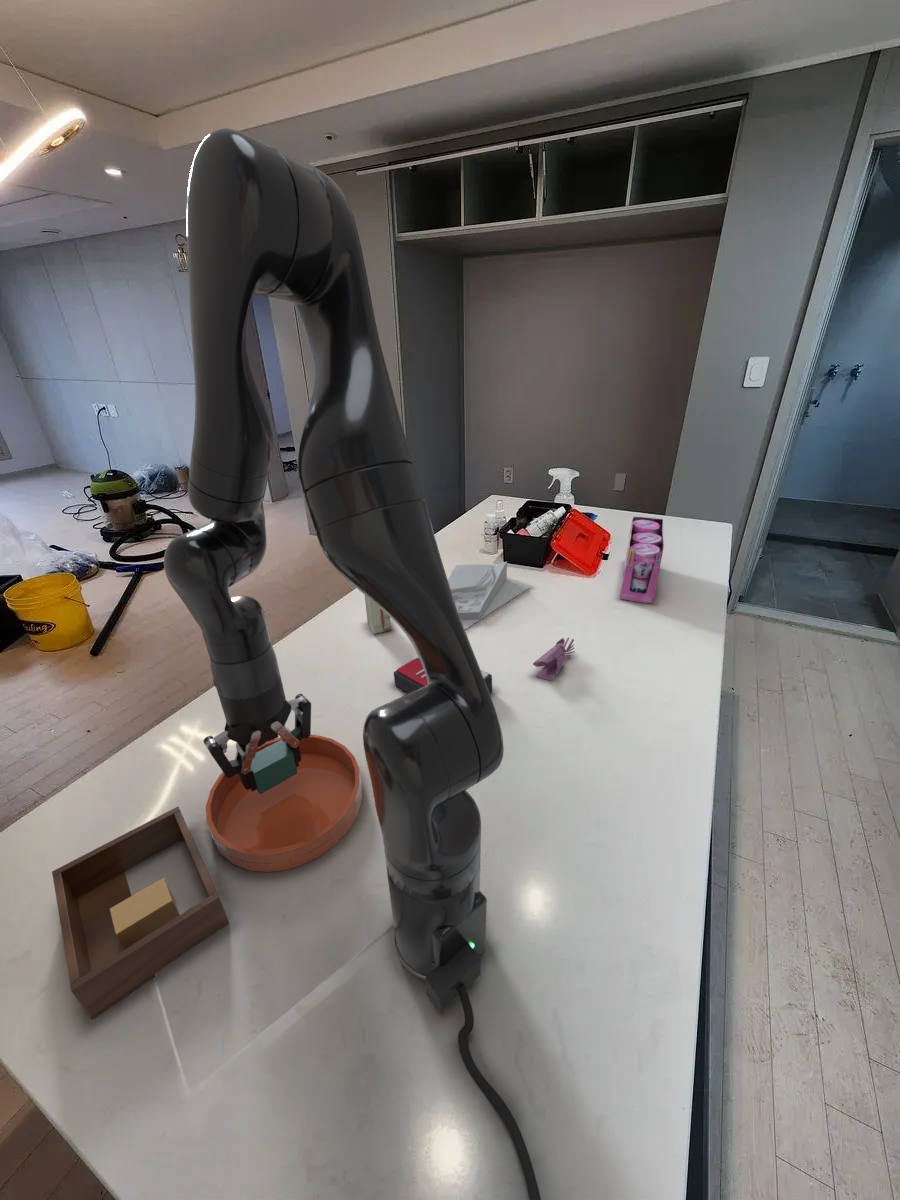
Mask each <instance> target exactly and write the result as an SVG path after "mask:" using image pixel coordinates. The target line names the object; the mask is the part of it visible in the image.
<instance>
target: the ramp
mask: <svg viewBox="0 0 900 1200" xmlns="http://www.w3.org/2000/svg"><path fill="white" fill-rule="evenodd" d="M507 576H508V561H504V562H499V563H495V564H481V563H479V564H476V563H475V564H456V565H455V567H454V568H453V569H452V571H451V573H450V574H449V577H448V578H447V580H448V583H449V586H450V589H451V592H452V596H453V599H454V602H455V605H456V607H457V610H458V613H459V616H460V619H461V621H462V624H463V626H464V629H465V631H466V630H467V629H468V628H471V627H472V626H473V625H475V624H476V623H478V622H480V621H481V620H482V619H484V618H486V617H487V616H489V615H490V614H492V613H494V612H495V611H496V610H498V609H499V608H501V607H503V606H504V605H506V604H507V603H509V602H510V601H512V600H514V599H515V598H517V597H518V596H519V595H521V594H523V593H524V592H526V591H527V590H528V589H530V588H531V587H530V586H528V585H525V584H523V583H519V582H516V581H513V580H511V579H508V578H507Z"/></svg>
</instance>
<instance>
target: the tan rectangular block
mask: <svg viewBox="0 0 900 1200" xmlns="http://www.w3.org/2000/svg"><path fill="white" fill-rule="evenodd" d="M110 913H111V917H112V921H113V925H114V929H115V933H116V936H117V937H118V939H119V941H120V942H121V944H122V946H123V947H124V949H127V948H128V947H130V946H132V945H133V944H135V943H136V942H138V941H140V940H141V939H143V938H144V937H146V936H147V935H149V934H151V933H152V932H154V931H155V930H157V929H159V928H160V927H162V926H163V925H165V924H166V923H168V922H170V921H171V920H173V919H174V918H176V917H178V916H179V915H181V914H180V911H179V909H178V905H177V903H176V900H175V897H174V895H173V893H172V891H171V889H170V887H169V885H168V882H167V880H166V878H165V877H162V878H160V879H159V880H157V881H154V882H153V883H152V884H149V885H148V886H146V887H145V888H143V889H141V890H140V891H138V892H136V893H134V894H132V895H131V897H129V898H127V899H126V900H124V901H122V902H120V903H119V904H117V905H115V906H114V907H112V908H110Z"/></svg>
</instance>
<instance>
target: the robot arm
mask: <svg viewBox="0 0 900 1200" xmlns="http://www.w3.org/2000/svg"><path fill="white" fill-rule="evenodd" d="M190 168H191V169H190V171H189V172H190V173H189V177H188V178H189V179H188V187H187V196H186V248H187V269H188V291H189V314H190V318H189V319H190V333H191V344H192V345H191V346H192V362H193V375H194V400H195V401H194V402H195V403H194V422H193V423H194V425H193V434H192V435H193V437H192V444H191V454H190V463H189V471H188V481H187V497H188V500H189V503H190V505H191V507H192V508H193V510H194V511H196V512H197V513H198V514H199V515H200V516H201V517H204V518H205V519H208V520H210V521H209V522H207V523H206V524H203V525H200V526H198V527H196V528H194V529H192V530H190V531H188V532H185V533H183V534H181V535H179V536H177V537H175V538H173V539H172V540H171V541H170V542H169V543H168V545H167V546H166V549H165V551H164V555H163V569H164V573H165V576H166V578H167V581H168V582H169V584H170V585H171V588H173V590H174V591H175V593H176V594H177V596H178V597H179V599H180V600H181V601H182V602H183V604H184V605H185V607H186V608H187V610H188V611H189V613H190V615H191V616H192V617H193V619H194V620H195V622H196V623H197V625H198V626H199V629H200V630H201V633H202V637H203V641H204V644H205V647H206V650H207V654H208V657H209V662H210V670H211V675H212V682H213V685H214V687H215V688H216V692H217V695H218V698H219V701H220V705H221V708H222V712H223V715H224V718H225V725H224V731H222V732H221V733H219V734H217V735H215V736H212V735H208V736H205V737H204V739H203V744H204V745H205V747H206V749H207V750H208V752H209V754H210V755H211V757H212V758H213V759H214V761H215V762H216V764H217V766H218V767H219V768H220V770H221V771H222V772H224V774H225V775H226V777H227V778H232V777H233V776H234V775H235V774H239V776H240V780H241V783H242V784H243V786H244V787H245V789H247V790H249V789H251V790H252V792H253V791H255V790H256V789H257V786H256V783H255V779H254V776H253V772H252V770H251V764H252V760H253V759H254V758H255V755H256V750H257V748H258V747H260V746H262V745H263V744H264V743H266V742H267V741H271V740H274V739H277V738H280V737H281V738H282V739H283V740H284V741H285V742H284V743H285V744H286V745H287V746H288V748H289V749H290V750H291V751H292V752H293V756H294V760H295V764H296V767H298V766H299V763H298V762H300V761H301V753H300V749H299V744H300V741H301V740H302V739H303V738H308V737H309V736H310V735H312V734H311V732H312V703H311V701H310V700H309V699H308V698H307V697H306V696H305V695H304V694H303V693H298V694H297V695H296V696H295V697H294V699H290V700H287V699H286V693H285V690H284V685H283V681H282V676H281V671H280V667H279V662H278V659H277V658H278V657H277V654H276V652H275V649H274V647H273V645H272V641H271V637H270V632H269V628H268V624H267V620H266V616H265V612H264V609H263V607H262V604H261V603H260V602H259V600H257V599H256V598H254V597H252V596H250V595H249V596H248V595H232V596H231V595H230V590H229V588H231V587H232V586H234V585H236V584H237V583H239V582H241V581H242V580H243V579H245V578H247V577H248V576H251V574H252V573H254V572H255V571H256V570H257V569H258V568H259V566H260V565H261V563H262V561H263V559H264V557H265V554H266V551H267V529H266V528H267V527H266V517H265V516H266V515H265V510H264V503H263V502H264V499H265V495H266V490H267V485H268V481H269V476H270V470H271V467H272V461H273V455H274V434H273V428H272V424H271V423H272V422H271V420H270V415H269V414H268V410H267V407H266V405H265V402H264V400H263V397H262V394H261V392H260V389H259V387H258V384H257V381H256V378H255V375H254V372H253V368H252V364H251V361H250V357H249V350H248V322H249V315H250V311H251V305H252V302H253V297H254V294H255V295H260V296H261V295H262V296H266V297H269V298H274V299H279V300H283V301H287V302H291V303H292V304H293V306H294V307H295V309H296V310H297V312H298V315H299V317H300V320H301V323H302V325H303V329H304V332H305V335H306V339H307V344H308V347H309V352H310V355H311V360H312V367H313V382H312V389H311V393H310V398H309V401H308V406H307V410H306V414H305V418H304V422H303V426H302V430H301V434H300V438H299V439H300V440H299V445H298V450H297V451H298V452H297V473H298V475H297V476H298V479H299V484H300V488H301V491H302V494H303V498H304V500H305V505H306V507H307V510H308V513H309V517H310V519H311V522H312V525H313V529H314V532H315V535H316V538H317V541H318V544H319V547H320V549H321V551H322V553H323V554H324V556H325V557H326V559H327V560H328V561H329V563H330V564H331V565H332V566H333V567H334V568H335V569H336V571H337V572H339V574H340V575H342V576H343V578H345V579H346V580H347V581H348V582H349V583H350V584H351V585H352V586H354V588H356V589H357V590H358V591H359V592H360V593H362V594H363V595H364V597H365V596H367V597H368V598H369V599H370V600H371V601H373V602H374V603H375V604H376V605H377V606H379V607H380V608H381V609H382V610H383V611H384V612H385V613H386V614H388V615H389V616H390V619H392V621H394V622H395V624H396V625H398V627H399V628H400V629H401V630H402V632H403V633H404V634H405V635H406V637H407V638H408V640H409V641H410V643H411V644H412V647H413V648H414V650H415V653H416V654H417V657H418V656H419V658H420V661H421V663H422V666H423V668H424V671H425V674H426V678H427V682H428V685H427V686H425V687H422V688H420V689H418V690H416V691H413V692H411V693H406V694H405V695H403V696H401V697H398V698H396V699H393V700H391V701H389V702H386V703H383V704H382V705H380V706H378V707H376V708H375V709H372V710H371V711H370V712H369V713H368V714H367V715H366V718H365V720H364V723H363V727H362V742H363V744H362V745H363V750H364V754H365V761H366V765H367V769H368V774H369V777H370V778H369V779H370V784H371V788H372V794H373V800H374V807H375V811H376V816H377V820H378V824H379V827H380V831H381V835H382V841H383V849H384V856H385V864H386V873H387V874H386V875H387V881H388V890H389V899H390V905H391V913H392V915H391V916H392V922H393V930H394V945H395V950H396V954H397V956H398V959H399V961H400V963H401V965H402V966H403V967H404V969H405V970H406V971H407V972H408V973H410V974H411V975H412V976H413V977H415V978H417V979H419V980H420V981H423V982H425V989H426V996H427V997H428V998H429V1000H430V1001H431V1003H432V1005H434V1007H435V1009H436V1010H437V1011H438V1013H439V1014H440V1015H442V1014H444V1012H445V1011H446V1010H447V1009H448V1008H449V1007H450V1006H451V1005H452V1004H453V1003H454V1002H455V1001H456V1000H457V999H458V998H459V999H460V1003H461V1007H462V1011H463V1015H464V1024H463V1026H462V1027H461V1028H460V1030H459V1032H458V1035H457V1040H458V1041H457V1042H458V1047H459V1051H460V1052H459V1053H460V1055H461V1058H462V1060H463V1064H464V1065H465V1068H466V1070H467V1072H468V1074H469V1075H470V1076H471V1079H472V1080H473V1081H474V1082H475V1084H476V1085H477V1086H478V1088H479V1090H480V1091H481V1092H482V1093H483V1094H484V1096H485V1097H486V1098H487V1100H488V1101H489V1103H491V1105H492V1106H493V1107H494V1109H495V1110H496V1111H497V1113H498V1114H499V1116H500V1118H501V1119H502V1121H503V1122H504V1125H505V1126H506V1128H507V1129H508V1132H509V1135H510V1136H511V1137H510V1138H511V1139H512V1142H513V1144H514V1147H515V1149H516V1153H517V1155H518V1159H519V1162H520V1165H521V1168H522V1172H523V1175H524V1179H525V1183H526V1187H527V1191H528V1197H529V1200H542V1199H541V1194H540V1190H539V1185H538V1182H537V1177H536V1174H535V1171H534V1166H533V1162H532V1160H531V1157H530V1153H529V1151H528V1148H527V1145H526V1143H525V1140H524V1137H523V1134H522V1131H521V1130H520V1127H519V1125H518V1122H517V1121H516V1118H515V1117H514V1115H513V1114H512V1112H511V1110H510V1109H509V1108H508V1105H507V1104H506V1102H505V1101H504V1100H503V1098H502V1097H501V1096H500V1095H499V1093H498V1091H496V1090H495V1088H494V1087H493V1086H492V1085H491V1083H489V1081H488V1080H487V1079H486V1077H484V1075H483V1074H482V1072H481V1071H480V1070H479V1068H478V1066H477V1065H476V1063H475V1061H474V1059H473V1057H472V1054H471V1052H470V1046H469V1043H468V1037H469V1036H470V1035H471V1033H472V1032H473V1030H474V1025H475V1024H474V1023H475V1022H474V1021H475V1020H474V1019H475V1018H474V1010H473V1007H472V1002H471V999H470V997H469V993H468V990H467V989H468V988H469V987H470V986H471V985H472V984H473V983H474V982H475V981H476V980H477V979H478V978H479V976H481V974H482V973H481V971H482V969H481V967H482V966H481V965H482V958H481V955H482V954H483V953H484V952H486V940H487V939H486V938H487V937H486V935H487V907H488V906H487V904H488V899H487V897H486V896H485V895H484V893H483V892H482V891H481V854H482V853H481V851H482V848H481V847H482V846H481V845H482V817H481V813H480V809H479V807H478V805H477V803H476V801H475V799H474V797H473V795H471V794H470V793H469V792H468V790H469V789H470V788H472V787H474V786H475V785H477V784H478V783H480V782H481V781H483V780H485V779H486V778H488V777H490V776H491V775H492V774H493V773H495V771H497V770H498V769H499V767H500V766H501V764H502V762H503V758H504V752H505V751H504V750H505V749H504V747H505V746H504V737H503V731H502V727H501V723H500V720H499V719H500V718H499V716H498V713H497V711H496V707H495V703H494V701H493V699H492V697H491V693H489V691H488V688H487V685H486V683H485V680H484V678H483V675H482V673H481V670H482V669H481V667H480V665H479V663H478V659H477V657H476V655H475V652H474V649H473V648H472V645H471V642H470V639H469V636H468V634H467V632H466V630H465V629H464V626H463V624H462V621H461V619H460V616H459V613H458V610H457V607H456V605H455V602H454V599H453V596H452V592H451V589H450V586H449V583H448V577H447V573H446V570H445V567H444V564H443V559H442V557H441V553H440V550H439V546H438V543H437V539H436V536H435V531H434V528H433V524H432V521H431V517H430V513H429V508H428V505H427V501H426V497H425V494H424V491H423V487H422V484H421V480H420V477H419V474H418V470H417V467H416V465H415V460H414V457H413V454H412V451H411V449H410V446H409V443H408V440H407V437H406V433H405V431H404V427H403V425H402V420H401V416H400V413H399V409H398V406H397V402H396V398H395V393H394V389H393V387H392V383H391V379H390V375H389V371H388V367H387V365H386V364H387V363H386V360H385V356H384V353H383V349H382V345H381V342H380V341H381V340H380V336H379V332H378V331H379V330H378V327H377V321H376V316H375V312H374V307H373V301H372V296H371V290H370V285H369V280H368V275H367V270H366V264H365V259H364V254H363V249H362V244H361V241H360V235H359V232H358V227H357V223H356V221H355V217H354V214H353V211H352V209H351V206H350V204H349V201H348V198H347V197H346V195H345V193H344V192H343V190H342V189H341V187H340V186H339V184H337V182H336V181H335V180H334V179H333V178H331V177H330V176H329V175H328V174H326V173H325V172H323V171H322V170H320V169H319V168H317V167H315V166H313V165H311V164H310V163H307V162H305V161H303V160H301V159H299V158H297V157H295V156H292V155H290V154H289V153H287V152H284V151H282V150H280V149H278V148H275V147H274V146H272V145H270V144H268V143H266V142H264V141H262V140H260V139H258V138H255V137H253V136H251V135H249V134H247V133H245V132H242V131H239V130H236V129H233V128H228V127H225V128H218V129H215V130H213V131H212V132H211V133H209V134H208V135H207V136H205V137H204V139H202V142H201V143H200V144H199V146H198V148H197V150H196V152H195V154H194V158H193V161H192V165H191V167H190ZM292 712H293V713H294V728H293V729H292V730H290V729H289V728H288V727H287V726H286V723H287V722H288V719H289V716H290V715H291V713H292ZM229 741H233V742H234V743H235V749H236V750H235V751H236V752H235V755H234V759H232V760H230V759H228V757H227V755H226V753H227V751H228V750H227V749H228V742H229Z"/></svg>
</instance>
